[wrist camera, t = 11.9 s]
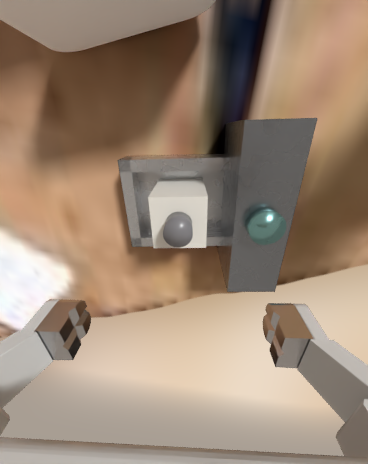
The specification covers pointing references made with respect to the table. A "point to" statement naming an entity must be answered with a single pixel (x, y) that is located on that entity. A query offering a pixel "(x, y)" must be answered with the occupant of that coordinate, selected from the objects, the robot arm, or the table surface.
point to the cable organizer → (94, 19)
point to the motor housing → (233, 195)
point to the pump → (179, 213)
